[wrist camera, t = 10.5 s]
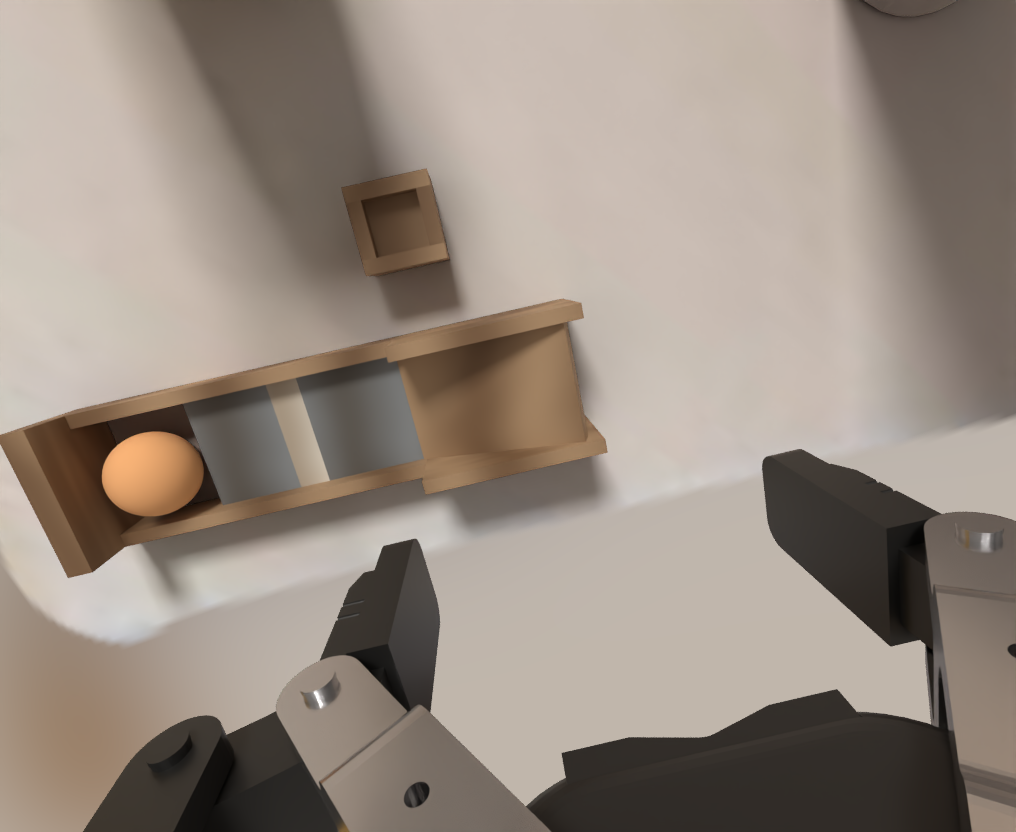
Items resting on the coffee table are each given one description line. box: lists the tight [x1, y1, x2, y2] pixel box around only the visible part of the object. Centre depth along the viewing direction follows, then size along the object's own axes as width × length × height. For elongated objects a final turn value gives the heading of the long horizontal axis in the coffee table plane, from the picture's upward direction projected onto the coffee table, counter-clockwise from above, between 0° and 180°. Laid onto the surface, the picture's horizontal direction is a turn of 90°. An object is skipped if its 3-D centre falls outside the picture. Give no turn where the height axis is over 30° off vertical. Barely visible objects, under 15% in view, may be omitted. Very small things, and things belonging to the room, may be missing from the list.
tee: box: [341, 169, 450, 276], centre depth 26 cm, size 4×4×3 cm
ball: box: [102, 432, 204, 516], centre depth 27 cm, size 4×4×4 cm
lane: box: [0, 299, 607, 578], centre depth 27 cm, size 27×7×5 cm, turn 102°
